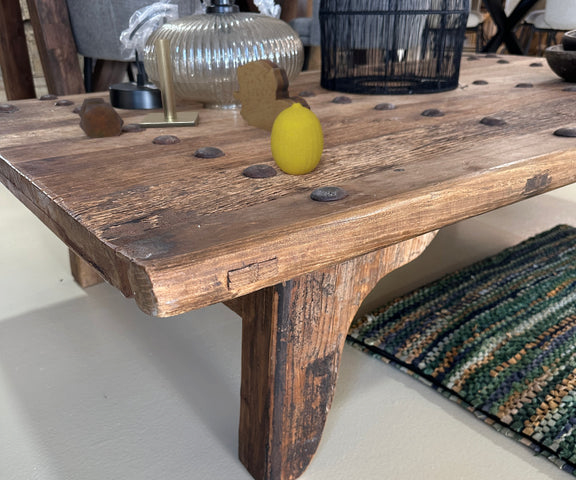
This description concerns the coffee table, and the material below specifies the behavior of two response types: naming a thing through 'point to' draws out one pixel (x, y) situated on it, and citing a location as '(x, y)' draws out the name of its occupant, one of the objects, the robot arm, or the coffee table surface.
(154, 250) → the coffee table surface
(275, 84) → the wooden carving
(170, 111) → the post
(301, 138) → the lemon
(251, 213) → the coffee table surface
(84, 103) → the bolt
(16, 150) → the coffee table surface
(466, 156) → the coffee table surface
